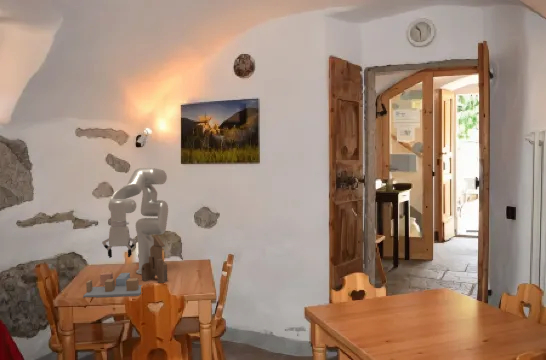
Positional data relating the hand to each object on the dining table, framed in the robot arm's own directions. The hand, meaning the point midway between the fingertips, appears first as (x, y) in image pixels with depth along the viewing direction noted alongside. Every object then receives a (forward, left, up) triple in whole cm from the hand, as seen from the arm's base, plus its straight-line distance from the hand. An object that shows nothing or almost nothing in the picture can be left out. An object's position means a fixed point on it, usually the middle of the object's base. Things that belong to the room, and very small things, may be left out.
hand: (119, 257), depth 273 cm
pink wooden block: (-7, -9, -16) cm, 19 cm away
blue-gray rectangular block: (-5, 0, -16) cm, 17 cm away
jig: (+10, 0, -16) cm, 19 cm away
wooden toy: (-11, +16, -16) cm, 25 cm away
